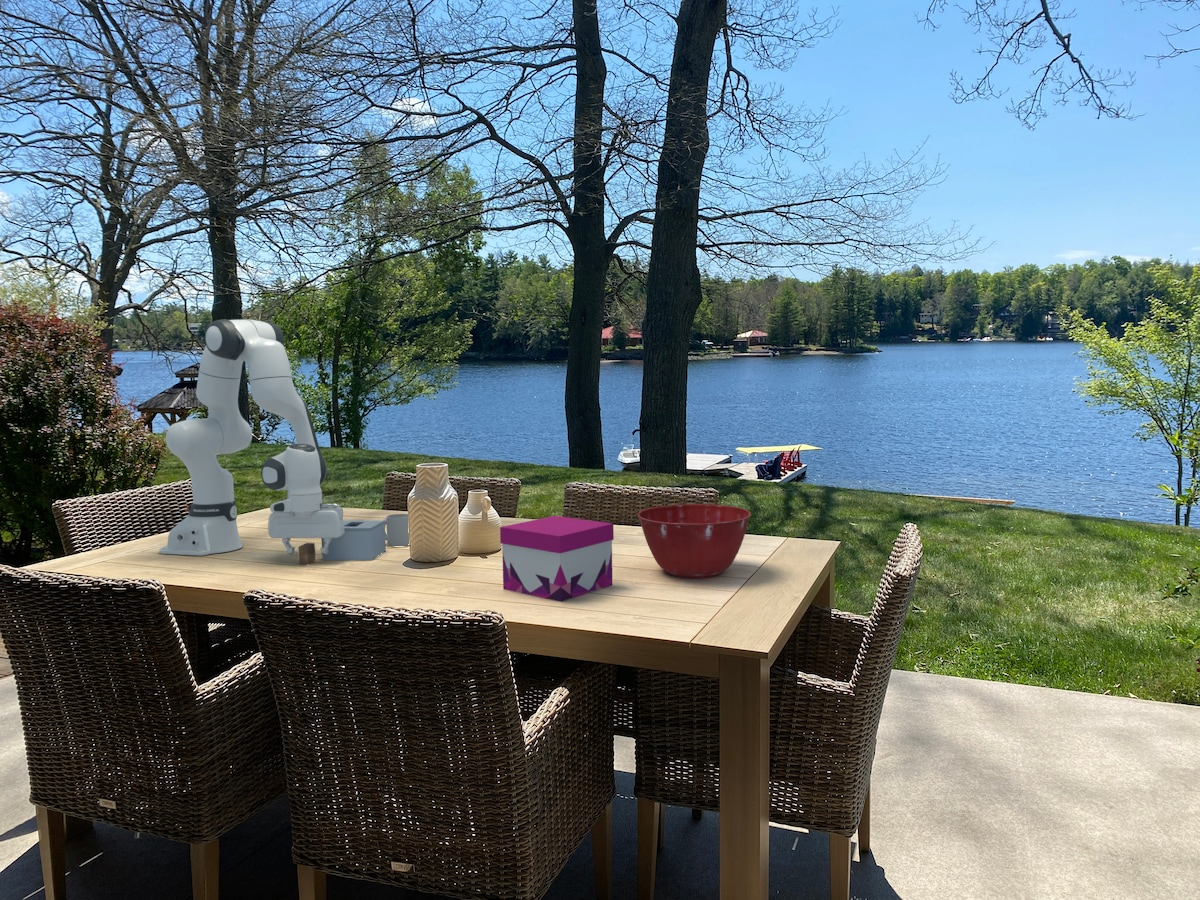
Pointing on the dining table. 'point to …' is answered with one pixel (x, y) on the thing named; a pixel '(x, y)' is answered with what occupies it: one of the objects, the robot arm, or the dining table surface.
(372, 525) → the money box
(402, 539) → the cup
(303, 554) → the tile
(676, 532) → the mixing bowl
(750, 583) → the dining table surface
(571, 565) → the decorative box
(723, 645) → the dining table surface
